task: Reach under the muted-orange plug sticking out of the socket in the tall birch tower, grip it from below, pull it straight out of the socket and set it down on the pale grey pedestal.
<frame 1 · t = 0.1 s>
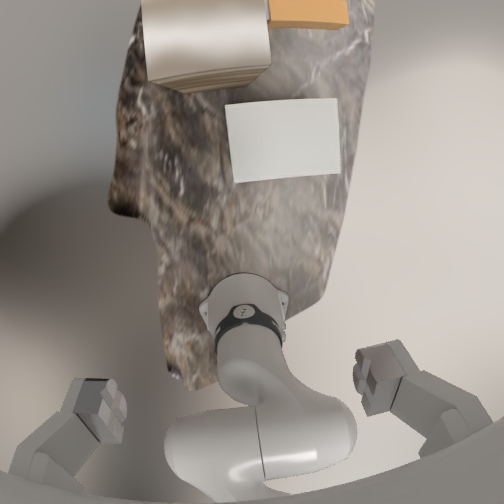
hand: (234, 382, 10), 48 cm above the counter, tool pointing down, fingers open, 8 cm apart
plug: (264, 13, 23), point 24 cm above the counter, touching socket tower
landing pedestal: (268, 130, 51), on the counter
socket tower: (212, 56, 45), on the counter
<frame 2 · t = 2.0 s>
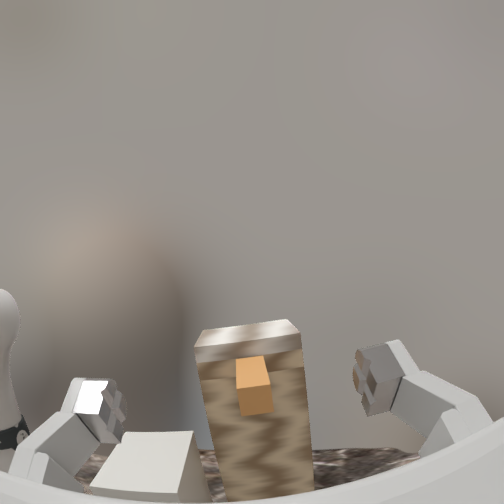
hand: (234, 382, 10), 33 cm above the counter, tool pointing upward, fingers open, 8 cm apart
plug: (252, 376, 34), point 24 cm above the counter, touching socket tower
socket tower: (271, 497, 38), on the counter
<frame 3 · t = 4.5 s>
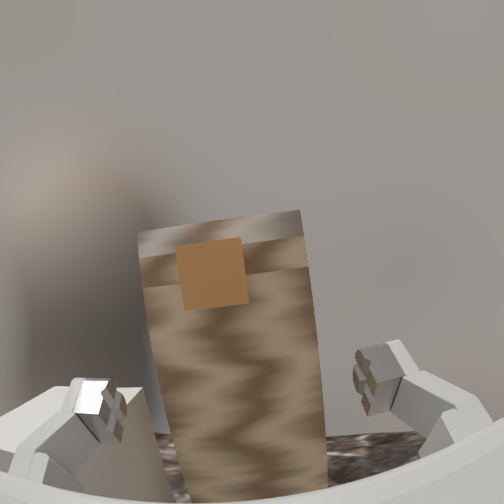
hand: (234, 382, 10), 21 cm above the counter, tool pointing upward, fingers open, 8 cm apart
plug: (223, 278, 22), point 24 cm above the counter, touching socket tower
socket tower: (263, 501, 26), on the counter
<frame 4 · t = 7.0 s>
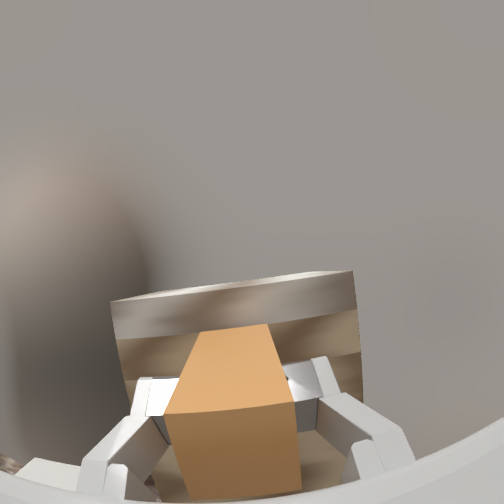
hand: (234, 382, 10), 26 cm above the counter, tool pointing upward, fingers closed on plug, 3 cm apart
plug: (240, 376, 14), point 24 cm above the counter, touching gripper, socket tower
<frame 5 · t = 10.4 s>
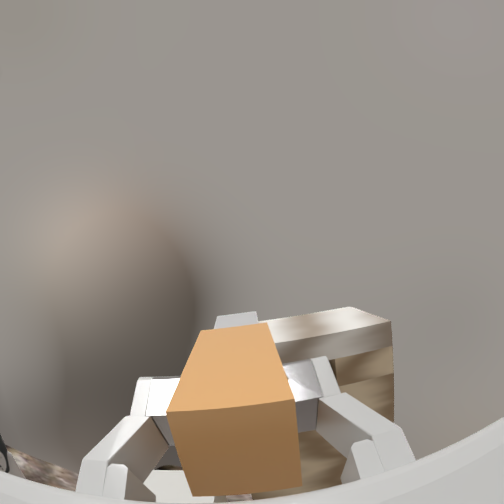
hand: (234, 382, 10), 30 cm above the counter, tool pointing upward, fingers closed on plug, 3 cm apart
plug: (241, 374, 14), point 29 cm above the counter, touching gripper
when the fingers open (19 cm above the counter, at t = 13.5 s): plug drops 2 cm, resting on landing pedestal.
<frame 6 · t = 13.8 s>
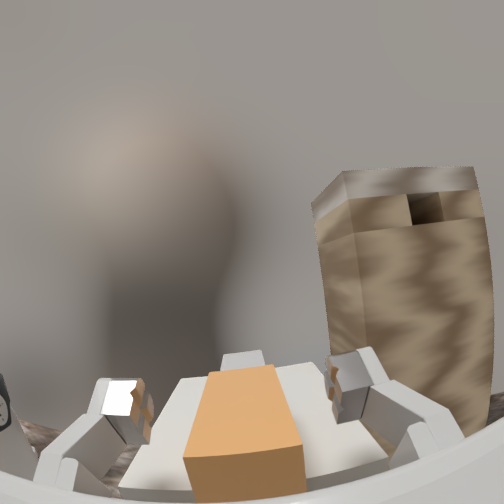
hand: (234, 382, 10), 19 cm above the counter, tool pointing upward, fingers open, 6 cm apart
plug: (248, 413, 14), point 16 cm above the counter, touching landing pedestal
socket tower: (405, 473, 23), on the counter
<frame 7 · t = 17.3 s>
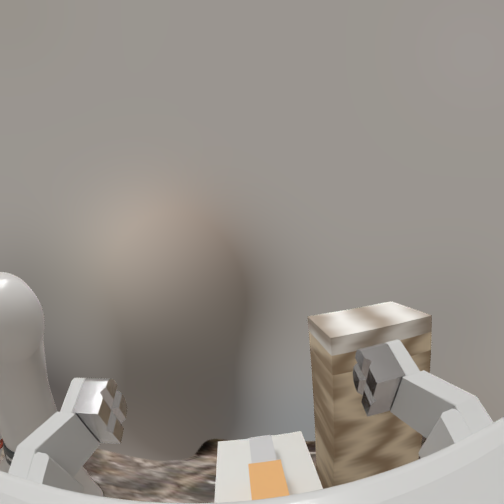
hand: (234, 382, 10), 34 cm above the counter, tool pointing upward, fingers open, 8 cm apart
plug: (266, 478, 24), point 16 cm above the counter, touching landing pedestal
socket tower: (361, 489, 35), on the counter
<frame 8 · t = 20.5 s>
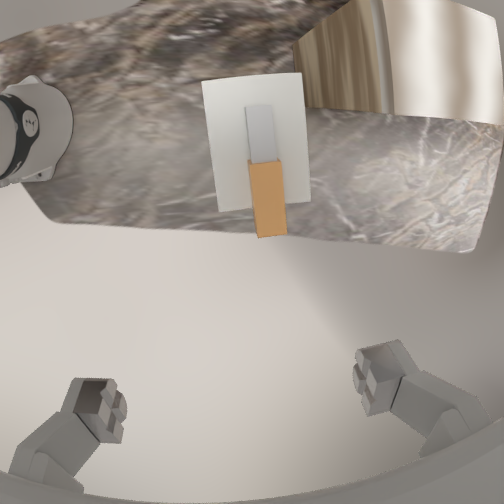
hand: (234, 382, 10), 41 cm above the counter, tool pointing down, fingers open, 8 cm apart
plug: (262, 159, 31), point 16 cm above the counter, touching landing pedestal
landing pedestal: (247, 130, 45), on the counter
socket tower: (333, 75, 42), on the counter
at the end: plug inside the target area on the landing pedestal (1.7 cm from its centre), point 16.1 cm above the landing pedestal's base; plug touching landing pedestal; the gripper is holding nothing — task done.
